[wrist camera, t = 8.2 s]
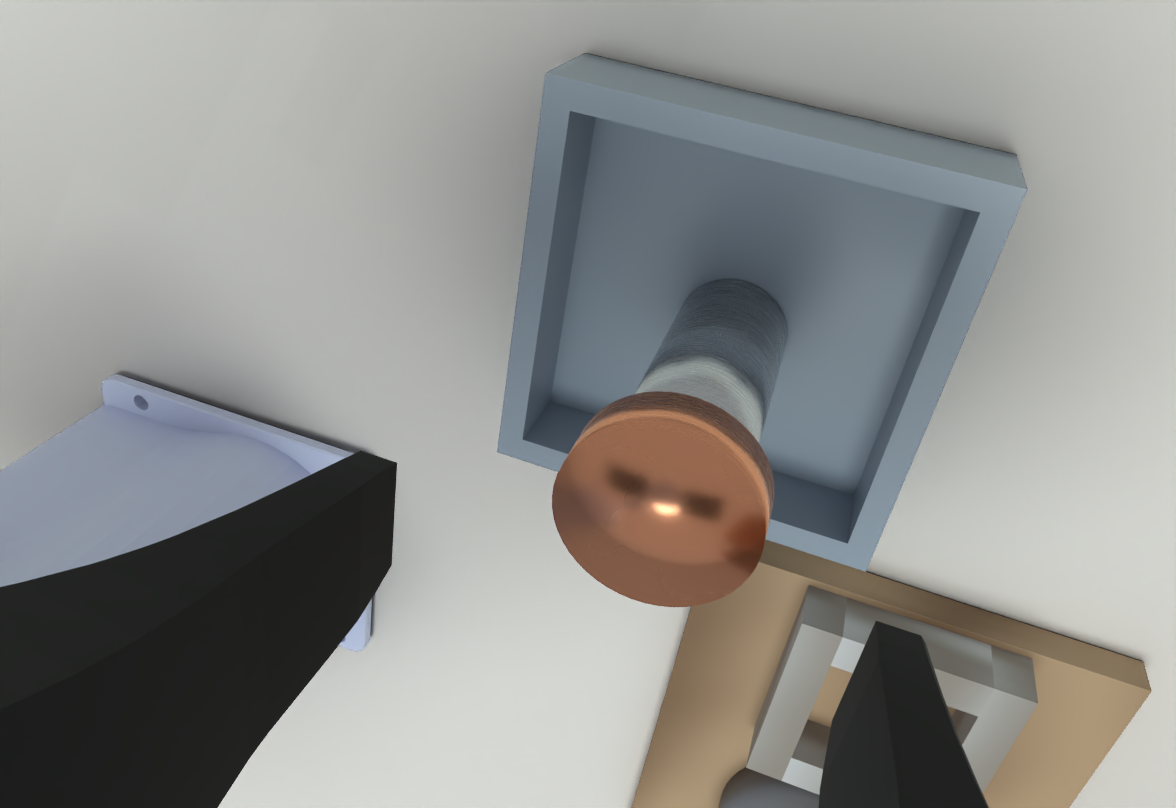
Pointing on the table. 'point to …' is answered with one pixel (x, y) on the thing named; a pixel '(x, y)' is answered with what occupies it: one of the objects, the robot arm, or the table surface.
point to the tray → (753, 274)
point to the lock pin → (681, 458)
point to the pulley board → (823, 670)
